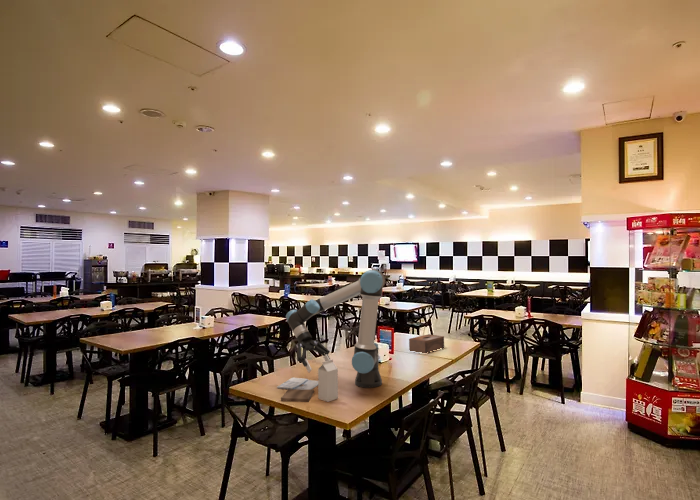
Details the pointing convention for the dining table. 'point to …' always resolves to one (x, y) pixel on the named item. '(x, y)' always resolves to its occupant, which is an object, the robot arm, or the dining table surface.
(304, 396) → the walnut board
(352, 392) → the dining table surface
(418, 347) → the tissue box cover
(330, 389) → the milk carton
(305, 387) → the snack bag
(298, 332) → the robot arm
